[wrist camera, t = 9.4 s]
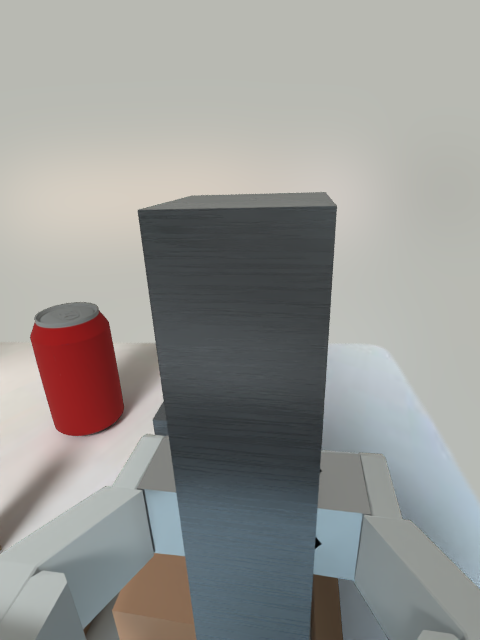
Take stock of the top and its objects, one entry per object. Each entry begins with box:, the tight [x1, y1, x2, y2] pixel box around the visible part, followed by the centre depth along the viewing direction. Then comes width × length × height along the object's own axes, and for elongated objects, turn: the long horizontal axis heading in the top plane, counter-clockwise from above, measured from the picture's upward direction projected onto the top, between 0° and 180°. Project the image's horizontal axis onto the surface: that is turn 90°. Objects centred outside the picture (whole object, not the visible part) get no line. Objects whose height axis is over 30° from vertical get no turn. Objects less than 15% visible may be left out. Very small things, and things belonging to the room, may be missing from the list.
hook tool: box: [138, 192, 337, 640], centre depth 13 cm, size 8×13×14 cm, turn 171°
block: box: [112, 553, 196, 640], centre depth 19 cm, size 4×4×4 cm
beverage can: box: [30, 302, 124, 436], centre depth 35 cm, size 7×7×12 cm
